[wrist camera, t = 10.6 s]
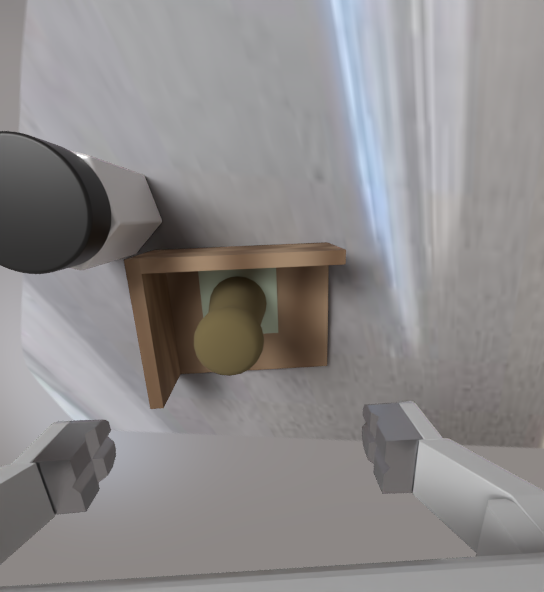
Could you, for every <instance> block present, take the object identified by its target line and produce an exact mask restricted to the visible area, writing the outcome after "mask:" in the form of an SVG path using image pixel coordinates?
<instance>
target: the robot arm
mask: <svg viewBox="0 0 544 592" xmlns="http://www.w3.org/2000/svg"><path fill="white" fill-rule="evenodd" d="M363 417H364V419H365V421H366V423H365V424H364V426H363V427H362V440H363V446H364V450H365V453H366V455H367V458H368V460H369V461H370V462H372V463H373V464H374V475H375V477H376V480H377V482H378V484H379V487H380V489H381V491H382V493H383V494H386V493H413V495H414V496H415V497H416V498H417V499H418V500H419V501H421V502H422V503H423V504H424V505H425V506H426V507H427V508H428V509H429V510H430V511H431V512H432V513H434V514H435V515H436V516H437V517H438V518H439V519H440V520H441V521H442V522H443V523H444V524H445V525H447V526H448V527H449V528H450V529H451V530H452V531H453V532H454V533H455V534H456V535H457V536H459V537H460V538H461V539H462V540H463V541H464V542H465V543H466V544H467V545H468V546H469V547H471V548H472V549H473V550H474V551H475V552H476V557H462V558H446V559H430V560H414V561H398V562H382V563H367V564H351V565H335V566H320V567H304V568H289V569H274V570H258V571H243V572H226V573H210V574H194V575H178V576H162V577H146V578H131V579H115V580H98V581H82V582H66V583H52V584H35V585H21V586H20V585H19V586H3V587H0V592H544V490H542V489H540V488H538V487H537V486H535V485H533V484H531V483H529V482H527V481H526V480H524V479H522V478H520V477H518V476H517V475H514V474H513V473H511V472H509V471H507V470H506V469H504V468H502V467H500V466H498V465H496V464H495V463H493V462H491V461H489V460H487V459H486V458H484V457H482V456H480V455H478V454H476V453H475V452H472V451H471V450H469V449H467V448H465V447H464V446H462V445H460V444H458V443H456V442H454V441H453V440H451V439H449V438H443V437H442V436H441V435H440V434H439V432H438V431H437V430H436V429H435V427H434V426H433V425H432V424H431V422H430V421H429V420H428V419H427V417H426V416H425V415H424V414H423V412H422V411H421V410H420V409H419V407H418V406H417V405H416V404H415V402H413V401H403V402H396V403H382V404H366V405H364V407H363ZM110 431H111V428H110V425H109V422H108V421H106V420H79V421H60V422H56V423H53V424H51V425H50V426H49V427H48V428H47V429H46V430H45V431H44V432H43V433H42V434H41V435H40V436H39V437H38V438H37V439H36V440H35V441H34V442H33V443H32V444H31V445H30V446H29V447H28V448H27V449H26V450H25V451H24V452H23V453H22V454H21V455H20V456H19V457H18V458H17V459H16V460H15V461H14V462H13V463H12V464H8V465H4V466H2V467H0V565H1V564H2V563H3V562H4V561H5V560H6V559H7V558H8V557H9V556H11V555H12V554H13V553H14V552H15V551H16V550H17V549H18V548H20V547H21V546H22V545H23V544H24V543H25V542H26V541H28V540H29V539H30V538H31V537H32V536H33V535H34V534H36V532H38V531H39V530H40V529H41V528H42V527H44V526H45V525H46V524H47V523H48V522H49V521H50V520H51V519H53V518H54V517H55V515H56V514H67V513H76V512H86V511H87V509H88V508H89V506H90V504H91V503H92V501H93V499H94V498H95V496H96V494H97V493H98V491H99V482H100V481H101V480H102V479H104V478H105V477H106V476H107V475H108V474H109V472H110V471H111V469H112V467H113V464H114V460H115V457H116V448H115V444H114V441H113V440H111V439H110V438H109V437H108V435H109V433H110Z"/></svg>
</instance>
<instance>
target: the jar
mask: <svg viewBox="0 0 544 592" xmlns="http://www.w3.org/2000/svg"><path fill="white" fill-rule="evenodd" d="M161 223H162V219H161V216H160V214H159V211H158V209H157V206H156V204H155V201H154V199H153V196H152V194H151V191H150V188H149V186H148V183H147V181H146V178H145V176H144V175H143V174H140V173H137V172H135V171H132V170H129V169H126V168H123V167H120V166H118V165H115V164H112V163H109V162H106V161H104V160H101V159H98V158H95V157H92V156H90V155H86V154H82V153H78V152H74V151H70V150H67V149H65V148H63V147H61V146H58V145H55V144H52V143H50V142H47V141H44V140H41V139H38V138H35V137H32V136H29V135H26V134H22V133H17V132H9V131H0V265H1V266H3V267H6V268H8V269H11V270H14V271H18V272H22V273H29V274H44V273H50V272H55V271H58V270H62V269H66V268H72V269H77V270H86V269H89V268H92V267H95V266H99V265H102V264H105V263H108V262H112V261H115V260H118V259H121V258H125V257H128V256H131V255H134V254H136V253H137V252H138V251H139V249H140V248H141V247H142V246H143V245H144V243H145V242H146V241H147V240H148V238H149V237H150V236H151V235H152V234H153V232H154V231H155V230H156V229H157V228H158V226H159V225H160V224H161Z"/></svg>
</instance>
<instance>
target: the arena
mask: <svg viewBox="0 0 544 592" xmlns="http://www.w3.org/2000/svg"><path fill="white" fill-rule="evenodd" d="M345 262H346V250H345V249H342V248H340V247H337V246H335V245H332V244H330V243H304V244H281V245H258V246H234V247H211V248H188V249H165V250H152V251H149V252H146V253H143V254H140V255H137V256H134V257H131V258H127V259H124V264H125V270H126V275H127V281H128V286H129V292H130V298H131V303H132V309H133V314H134V320H135V325H136V331H137V336H138V342H139V348H140V353H141V359H142V364H143V370H144V375H145V381H146V387H147V392H148V398H149V403H150V409H156V408H164V406H165V404H166V402H167V400H168V398H169V396H170V394H171V392H172V390H173V388H174V386H175V384H176V382H177V380H178V378H179V376H180V374H190V373H207V372H212V371H210V370H209V369H208V368H206V367H205V366H204V365H202V363H201V362H200V360H199V359H198V357H197V356H196V352H195V349H194V333H195V331H196V329H197V326H198V324H199V322H200V321H201V320H202V319H203V318H204V317H205V316H206V315H207V313H208V311H209V303H210V296H211V294H212V292H213V289H214V288H215V287H216V286H217V285H218V284H219V282H221V281H223V280H225V279H227V278H230V277H235V276H239V277H246V278H248V279H251V280H253V281H254V282H256V283H257V284H258V285H259V286H260V287H261V289H262V290H263V292H264V294H265V297H266V302H267V304H266V312H265V314H264V317H263V320H262V323H261V327H262V331H263V336H264V345H263V351H262V353H261V355H260V357H259V359H258V361H257V362H256V363H255V364H254V365H253V366H252V367H251V368H250V369H249V370H261V369H279V368H296V367H314V366H327V334H328V267H329V265H343V264H345Z"/></svg>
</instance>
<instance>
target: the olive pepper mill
mask: <svg viewBox="0 0 544 592" xmlns="http://www.w3.org/2000/svg"><path fill="white" fill-rule="evenodd" d="M266 304H267V302H266V297H265V294H264V292H263V290H262V289H261V287H260V286H259V285H258V284H257V283H256V282H254V281H253V280H251V279H248V278H246V277H239V276H235V277H230V278H227V279H225V280H223V281H221V282H219V284H218V285H217V286H216V287H215V288H214V289H213V292H212V294H211V296H210V303H209V311H208V313H207V315H206V316H205V317H204V318H203V319H202V320H201V321H200V322H199V324H198V326H197V329H196V331H195V333H194V349H195V352H196V356H197V357H198V359H199V360H200V362H201V363H202V365H204V366H205V367H206V368H208V369H209V370H210V371H212V372H215V373H217V374H220V375H229V376H231V375H236V374H241V373H243V372H245V371H247V370H249V369H250V368H251V367H252V366H253V365H254V364H255V363H256V362H257V361H258V359H259V357H260V355H261V353H262V351H263V345H264V336H263V331H262V327H261V323H262V320H263V317H264V314H265V312H266Z"/></svg>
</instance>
